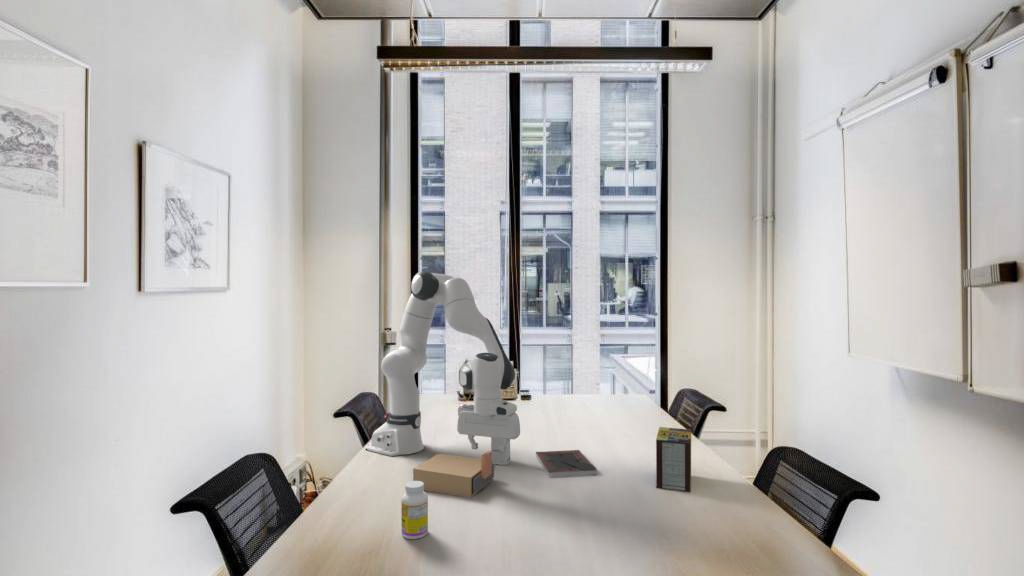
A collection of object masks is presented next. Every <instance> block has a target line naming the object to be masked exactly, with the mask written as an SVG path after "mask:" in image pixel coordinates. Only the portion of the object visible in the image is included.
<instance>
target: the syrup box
mask: <svg viewBox="0 0 1024 576" xmlns="http://www.w3.org/2000/svg"><path fill="white" fill-rule="evenodd" d="M490 440H491V441H490V446H491V447H490V449H491V450H490V451H492V461H493V464H494V465H495V464H499V465H498V466H507V465H508V464H509V462H510V461H511V439H509V441H508V443H507V445H506V451H505V452H504V453H502V452H499V450H500V449H499V447H500V446H501V445H503V443H504V442H503V441H502V438H494V437H490Z"/></svg>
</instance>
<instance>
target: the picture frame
mask: <svg viewBox="0 0 1024 576" xmlns="http://www.w3.org/2000/svg"><path fill="white" fill-rule="evenodd" d="M536 457H537V458H536ZM535 458H536V459H537V461H538V462H539V464H540V465H541V468H543V470H544V472H545V474H546V475H547V478H562V477H563V478H564V476H565V477H578V476H581V475H582V476H597V475H598V470H597V468H596V467H595V466H594V465H593V464H592V463H591V462H590V460H589V459H588V458H587V457H586V456H585V455H584V454H583V453H582V452H581V450H580V449H573V450H572V449H571V450H570V449H569V450H552V451H551V450H550V451H535Z"/></svg>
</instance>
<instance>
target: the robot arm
mask: <svg viewBox="0 0 1024 576" xmlns="http://www.w3.org/2000/svg"><path fill="white" fill-rule="evenodd" d="M410 291H411V294H410V296H409V299H408V300H407V303H406V305H405V309H404V312H403V316H402V320H401V322H400V326H399V333H400V343H399V347H398V348H397V349H393V350H391V351H390V352H388V353H387V354H386V355H385V356H383V358H382V361H381V364H380V367H381V368H380V370H381V372H382V373H383V375H384V376H385V378H386V381H387V386H388V389H389V397H390V398H389V402H390V403H389V405H390V409H389V412H388V413H387V414H385V415H384V419H386V421H385V422H384V423H383V424H382V425H381V426H379V427H378V428H377V429H375V430H374V431H373V433H372V436H371V441H370V442H368V443H367V444H366V445H365V446H364V447H365V448H364V450H365V449H367V450H366V451H369V452H373V453H378V454H380V455H381V454H382V455H385V456H389V457H396V456H401V455H410V454H415V453H419V452H422V451H423V450H424V449H425V446H424V442H423V438H422V432H421V423H422V419H421V418H422V412H421V411H420V406H421V404H420V403H421V402H420V401H421V400H420V395H421V394H420V390H419V389H418V387H417V384H416V378H415V375H416V373H419V372H420V371H421V370H422V369H423V368H424V367H425V366H426V364H427V360H428V356H427V345H428V344H427V343H428V337H429V333H430V329H431V326H432V322H433V319H434V316H435V312H436V309H437V306H440V305H443V311H444V314H445V318H446V321H447V323H448V325H449V327H451V328H452V329H453V330H455V331H456V332H458V333H462V334H467V335H469V336H472V337H475V338H477V339H479V340H480V341H482V342H483V344H484V346H485V348H486V351H487V352H480V353H477V354H476V355H475V356H474V357H473V359H472V360H469V361H468V362H464V363H463V364H462V365H461V367H460V368H459V371H458V381H459V382H458V383H459V385H460V386H461V387H462V388H463V389H464V390H465V391H467V392H474V393H473V404H465V403H464V404H461V405H459V407H458V408H457V416H458V418H457V429H456V431H457V432H458V434H459V435H465V436H467V439H468V441H469V443H470V444H471V446H470V447H471V450H479V443H478V442H477V441H476V439H475V437H485V438H486V437H487V438H491V437H494V438H502V441H503V442H504V443H503V445H501V446H500V447H499V449H500V450H499V452H502V453H504V452H505V451H506V445H507V443H508V441H509V439H510V440H516V439H517V438H519V436H520V434H521V424H520V417H519V415H518V414H517V413H516V412H517V410H518V406H517V404H515V403H513V402H510V401H508V400H505V399H504V398H503V395H502V390H507V389H508V388H510V386H511V385H512V384H513V383H514V381H515V378H516V370H515V368H514V365H513V364H512V362H511V360H510V359H509V358H508V356H507V354H506V352H505V349H504V347H503V346H502V343H501V341H500V339H499V337H498V334H497V332H496V330H495V328H494V326H493V324H492V322H491V321H490V319H488V318H487V317H485V316H484V315H483V313H481V312H480V311H479V308H478V307H477V304H476V301H475V297H474V294H473V292H472V290H471V288H470V285H469V283H468V282H467V281H466V280H465V279H463V278H462V277H454V276H450V275H448V274H444V273H438V272H437V273H436V272H430V271H419V272H417V273H416V274H415V275H414V276H413V278H412V279H411V282H410Z"/></svg>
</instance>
